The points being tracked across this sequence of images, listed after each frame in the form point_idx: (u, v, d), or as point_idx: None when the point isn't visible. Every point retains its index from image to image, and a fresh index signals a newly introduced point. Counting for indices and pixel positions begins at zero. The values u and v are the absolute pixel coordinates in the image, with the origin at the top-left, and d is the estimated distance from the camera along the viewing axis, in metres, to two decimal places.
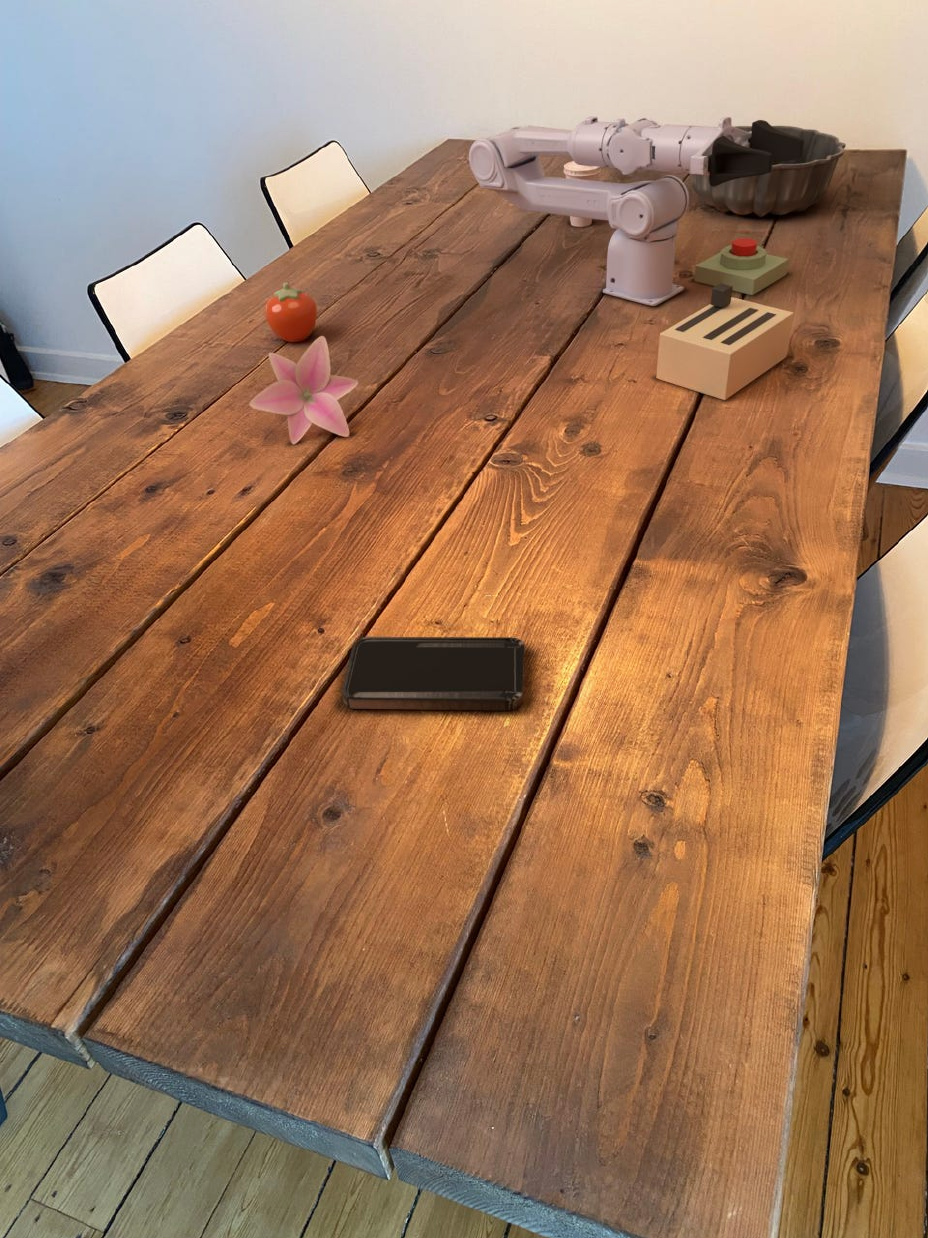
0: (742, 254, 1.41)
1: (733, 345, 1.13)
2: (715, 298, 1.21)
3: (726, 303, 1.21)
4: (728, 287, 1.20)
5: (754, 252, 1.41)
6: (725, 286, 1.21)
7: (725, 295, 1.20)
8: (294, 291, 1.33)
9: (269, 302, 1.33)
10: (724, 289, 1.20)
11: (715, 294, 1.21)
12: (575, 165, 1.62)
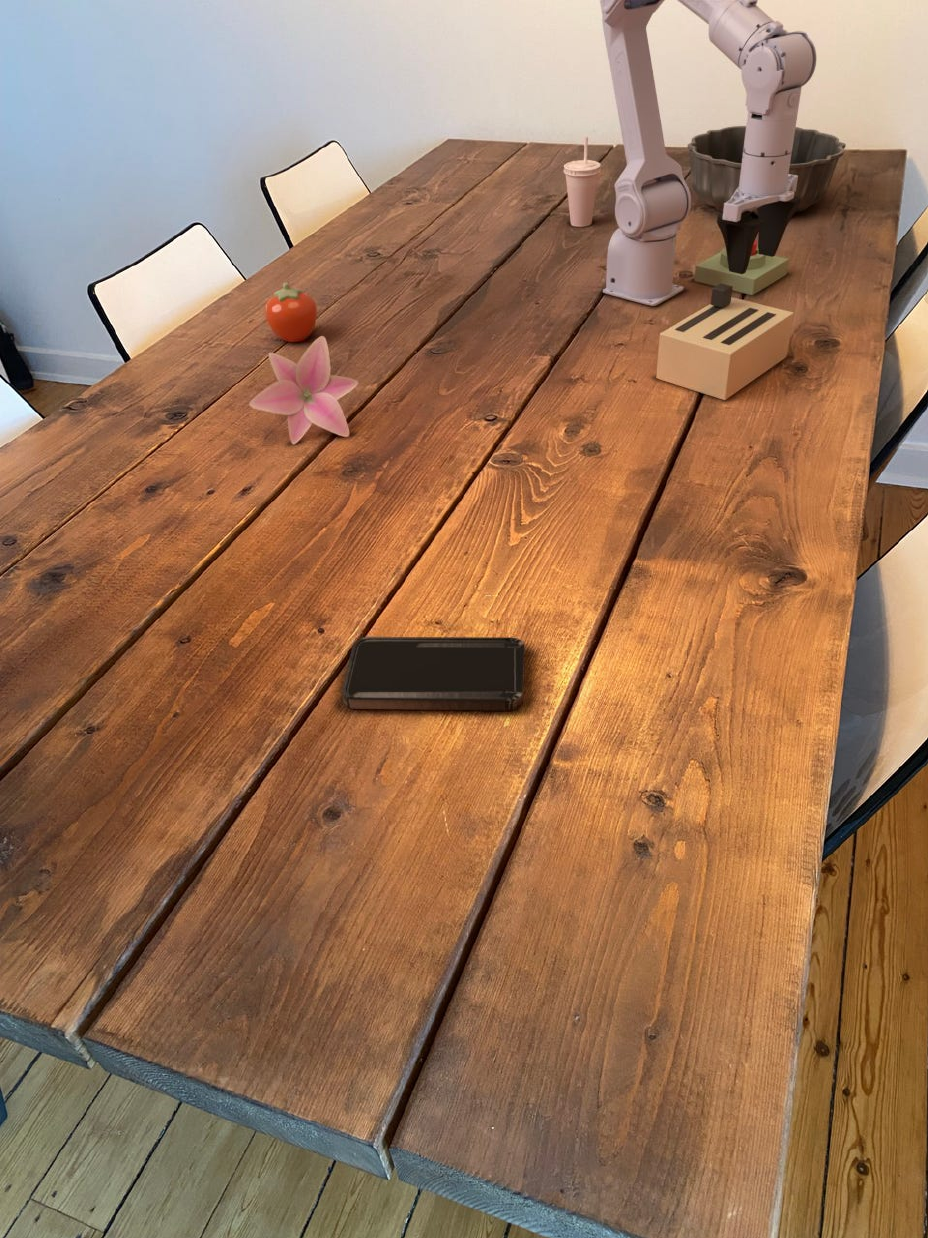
0: None
1: (733, 345, 1.13)
2: (715, 298, 1.21)
3: (726, 303, 1.21)
4: (728, 287, 1.20)
5: (754, 252, 1.41)
6: (725, 286, 1.21)
7: (725, 295, 1.20)
8: (294, 291, 1.33)
9: (269, 302, 1.33)
10: (724, 289, 1.20)
11: (715, 294, 1.21)
12: (575, 165, 1.62)
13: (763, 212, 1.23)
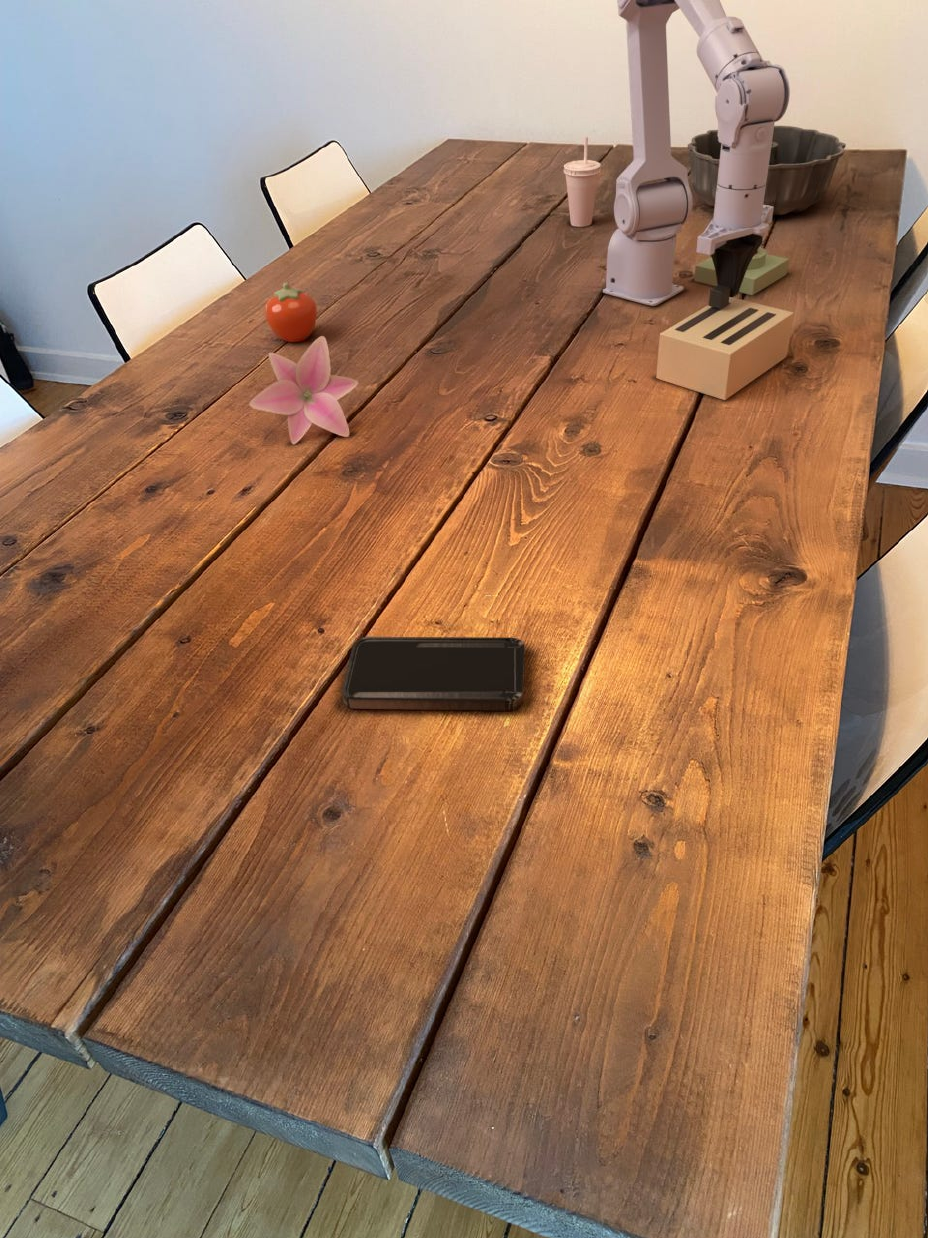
0: None
1: (733, 345, 1.13)
2: (713, 299, 1.21)
3: (724, 304, 1.21)
4: (726, 288, 1.20)
5: None
6: (723, 287, 1.20)
7: (723, 296, 1.20)
8: (294, 291, 1.33)
9: (269, 302, 1.33)
10: (722, 290, 1.20)
11: (713, 295, 1.20)
12: (575, 165, 1.62)
13: None
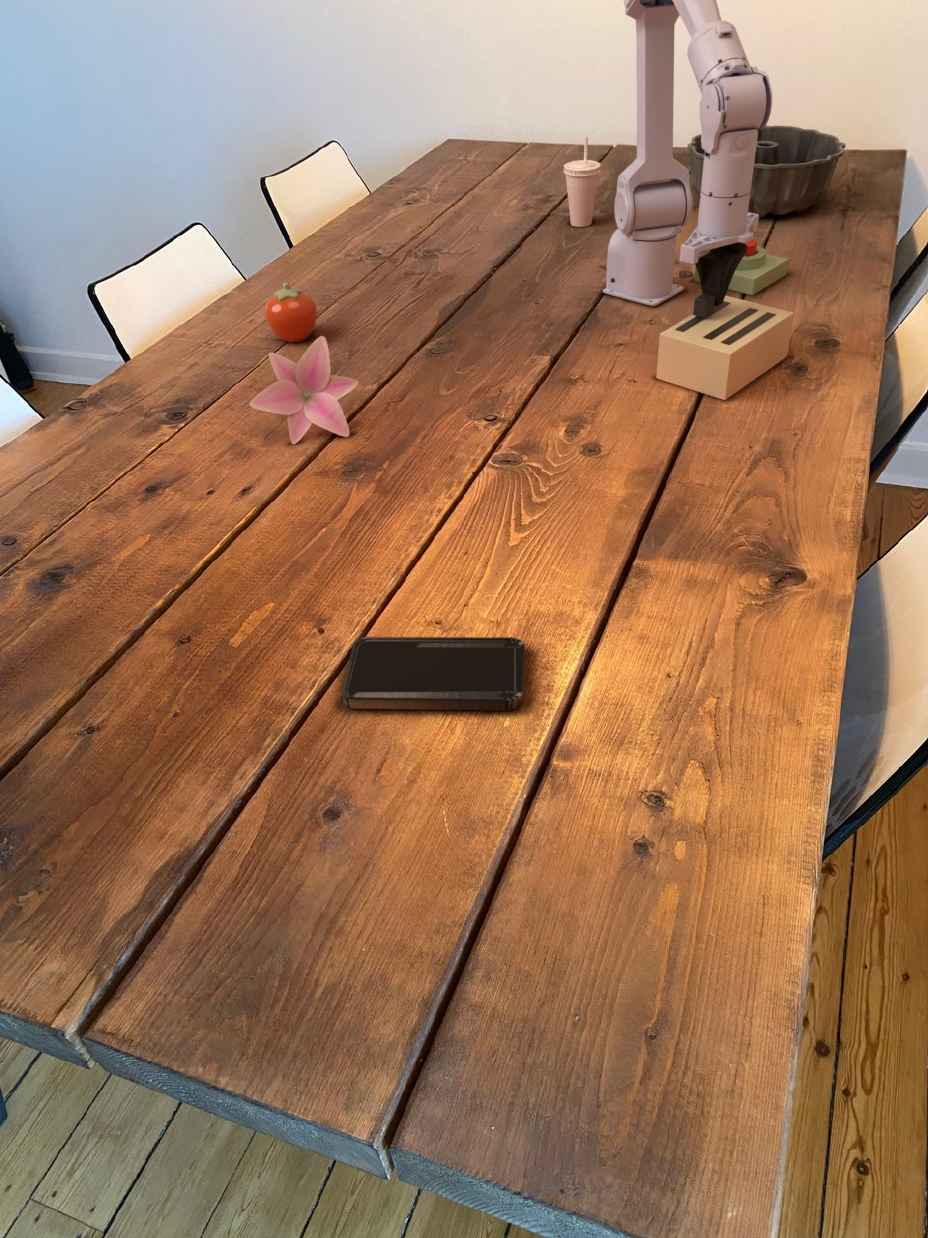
0: None
1: (733, 345, 1.13)
2: (697, 308, 1.19)
3: (709, 313, 1.19)
4: (711, 297, 1.18)
5: (754, 252, 1.41)
6: (708, 296, 1.19)
7: (708, 305, 1.18)
8: (294, 291, 1.33)
9: (269, 302, 1.33)
10: (706, 299, 1.18)
11: (697, 304, 1.19)
12: (575, 165, 1.62)
13: None
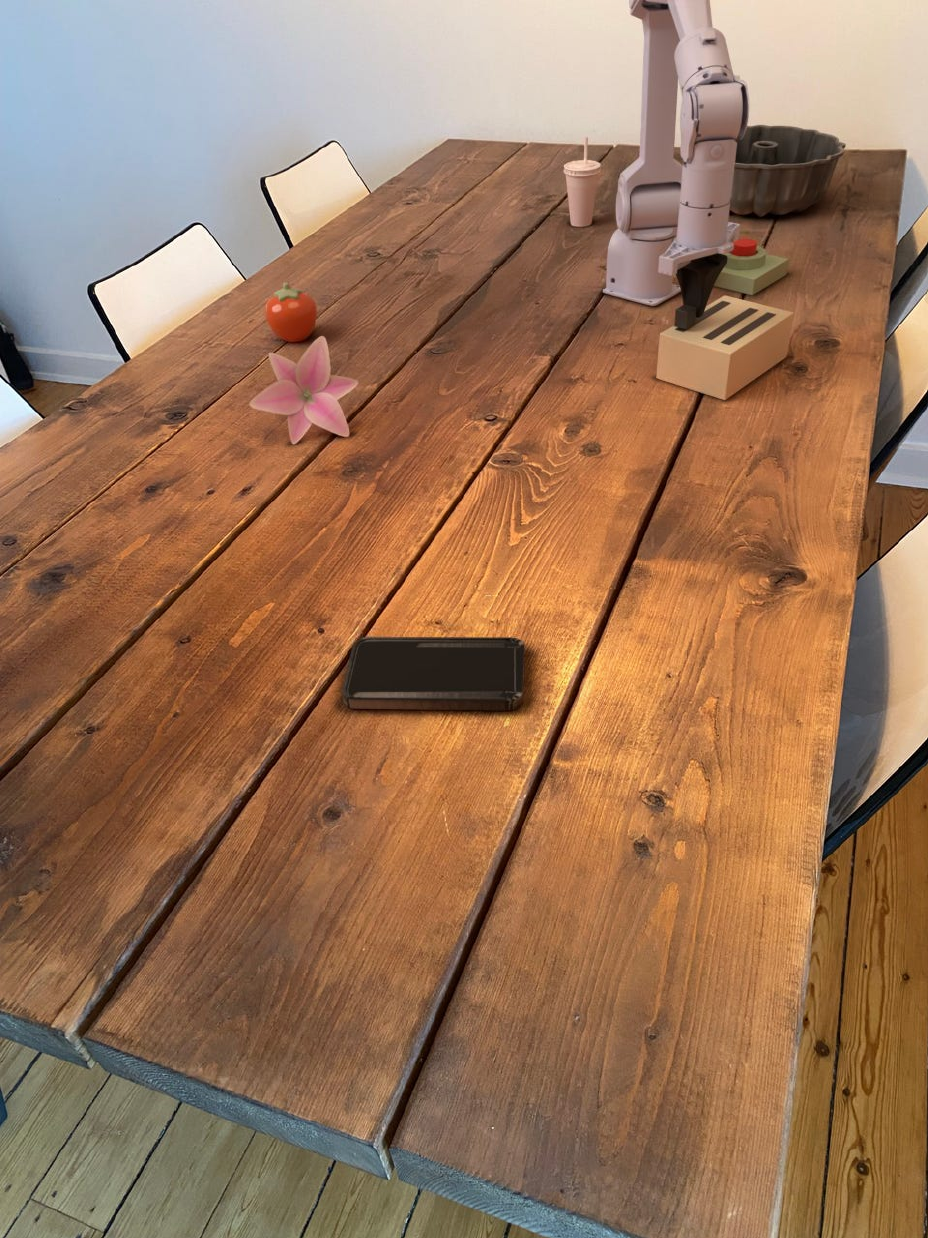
0: (742, 254, 1.41)
1: (733, 345, 1.13)
2: (679, 320, 1.17)
3: (690, 325, 1.17)
4: (692, 308, 1.16)
5: (754, 252, 1.41)
6: (689, 307, 1.16)
7: (689, 317, 1.16)
8: (294, 291, 1.33)
9: (269, 302, 1.33)
10: (688, 310, 1.16)
11: (679, 315, 1.16)
12: (575, 165, 1.62)
13: None
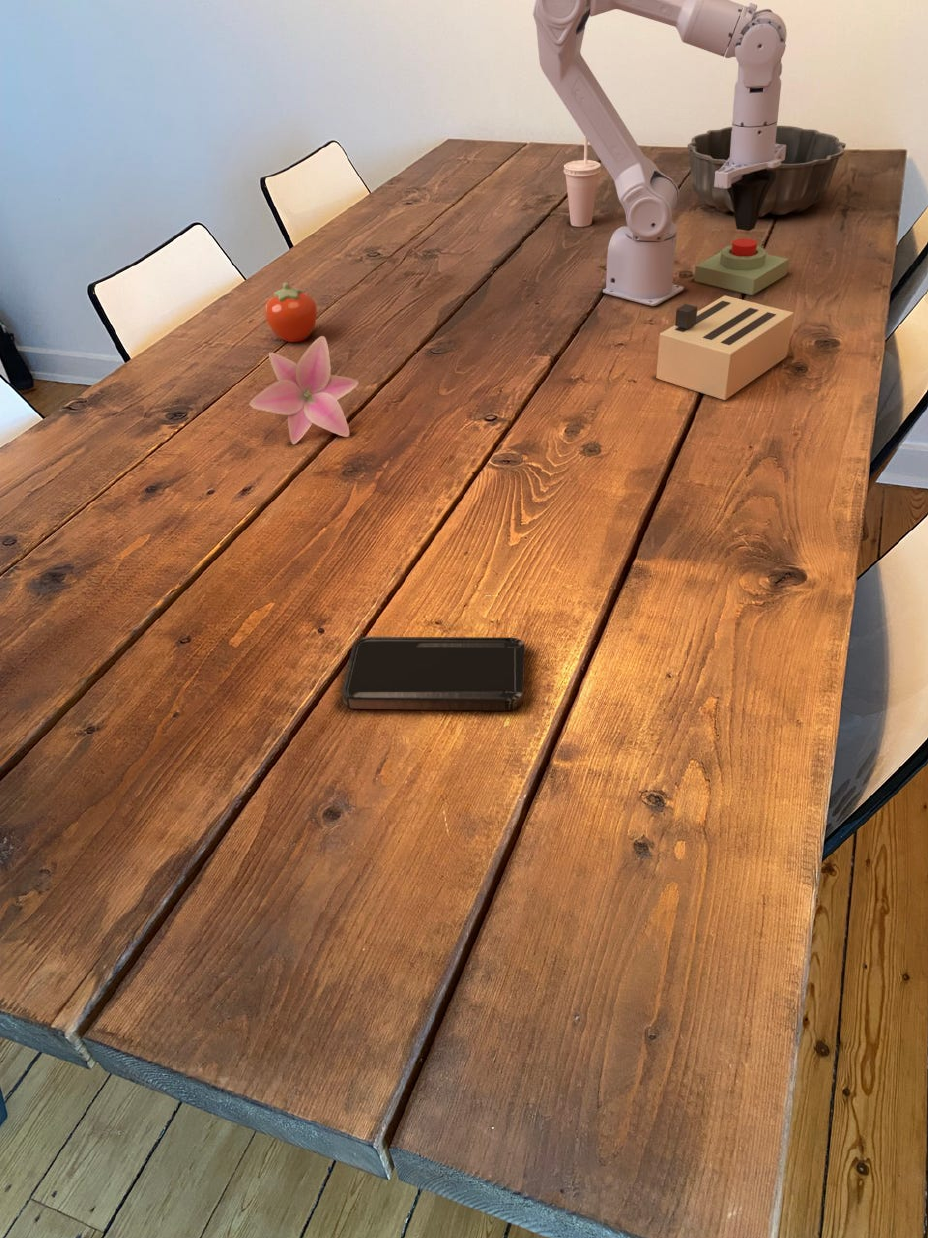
0: (742, 254, 1.41)
1: (733, 345, 1.13)
2: (679, 319, 1.17)
3: (691, 324, 1.17)
4: (693, 308, 1.16)
5: (754, 252, 1.41)
6: (690, 307, 1.16)
7: (690, 316, 1.16)
8: (294, 291, 1.33)
9: (269, 302, 1.33)
10: (688, 310, 1.16)
11: (679, 315, 1.16)
12: (575, 165, 1.62)
13: None
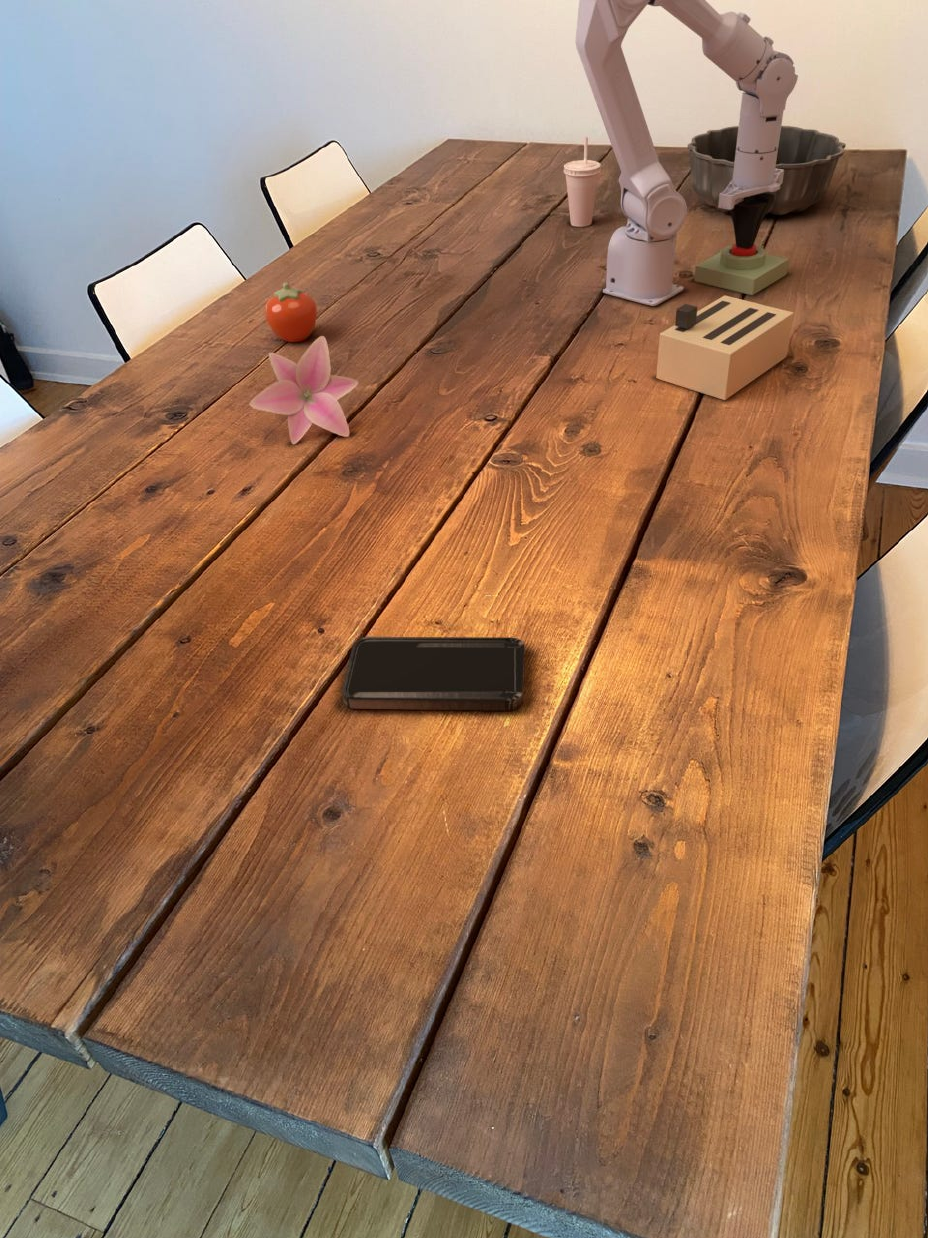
0: None
1: (733, 345, 1.13)
2: (679, 319, 1.17)
3: (691, 324, 1.17)
4: (693, 308, 1.16)
5: None
6: (690, 307, 1.16)
7: (690, 316, 1.16)
8: (294, 291, 1.33)
9: (269, 302, 1.33)
10: (688, 310, 1.16)
11: (679, 315, 1.16)
12: (575, 165, 1.62)
13: None
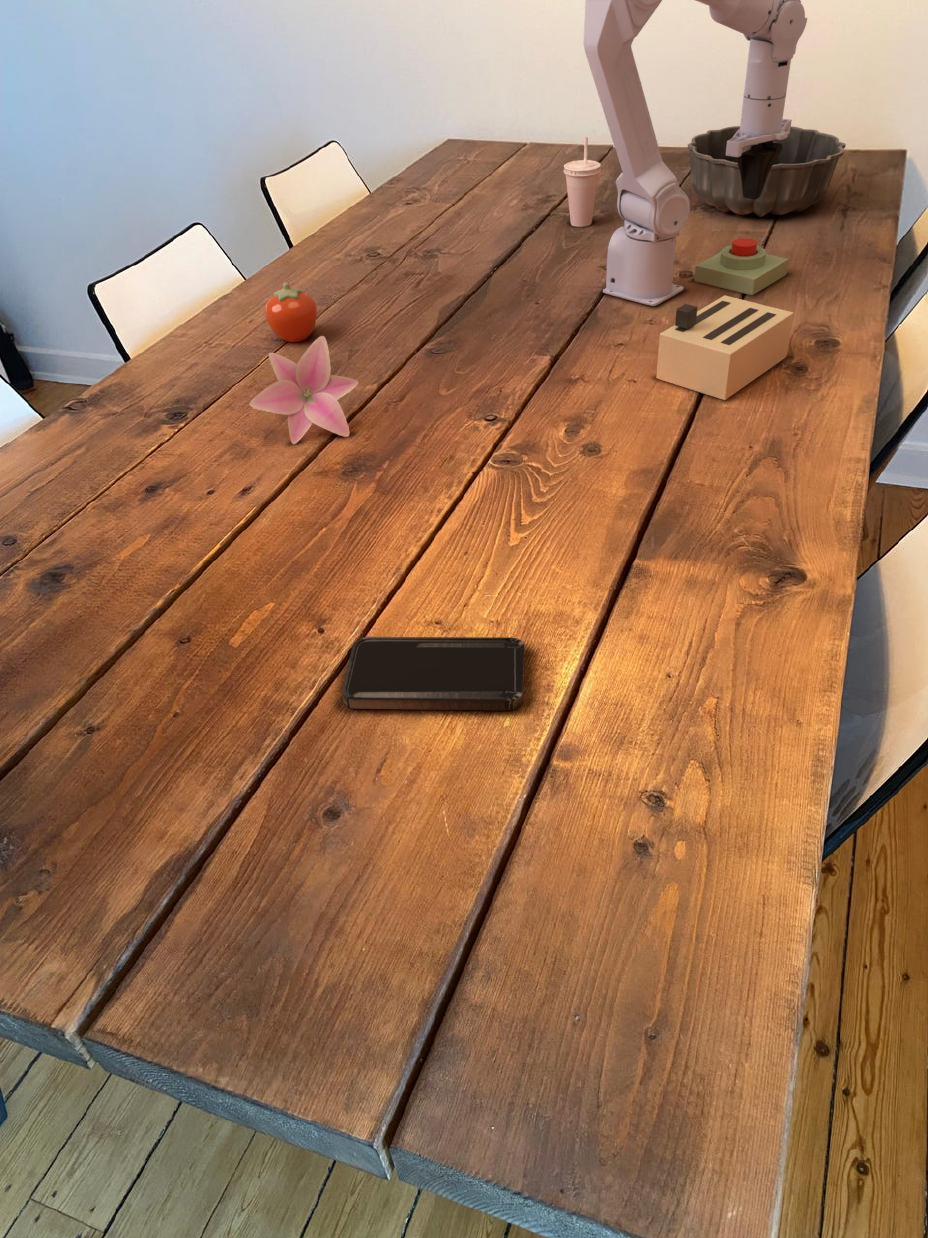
0: (742, 254, 1.41)
1: (733, 345, 1.13)
2: (679, 319, 1.17)
3: (691, 324, 1.17)
4: (693, 308, 1.16)
5: (754, 252, 1.41)
6: (690, 307, 1.16)
7: (690, 316, 1.16)
8: (294, 291, 1.33)
9: (269, 302, 1.33)
10: (688, 310, 1.16)
11: (679, 315, 1.16)
12: (575, 165, 1.62)
13: None
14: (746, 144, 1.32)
